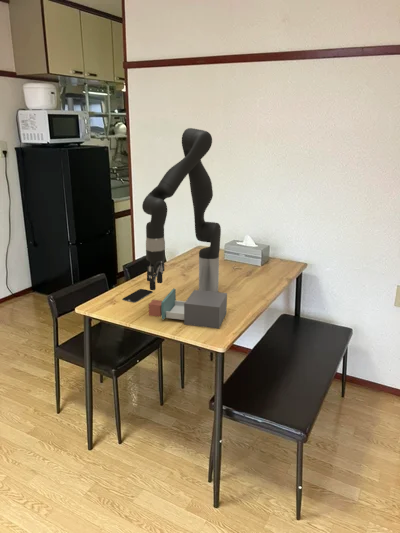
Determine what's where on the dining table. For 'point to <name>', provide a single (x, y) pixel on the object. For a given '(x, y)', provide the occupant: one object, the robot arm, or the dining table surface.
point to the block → (155, 308)
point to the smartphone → (137, 295)
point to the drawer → (172, 306)
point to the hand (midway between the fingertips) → (156, 286)
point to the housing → (205, 309)
